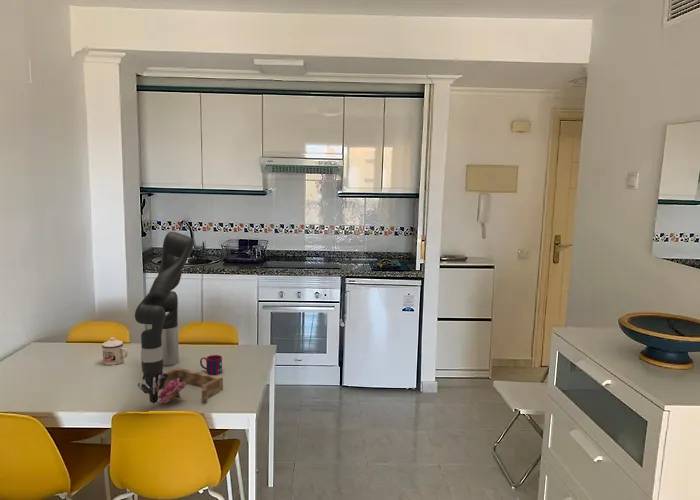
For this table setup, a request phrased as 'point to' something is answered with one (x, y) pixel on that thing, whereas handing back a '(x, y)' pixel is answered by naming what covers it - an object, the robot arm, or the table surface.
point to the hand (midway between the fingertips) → (154, 402)
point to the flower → (171, 391)
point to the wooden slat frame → (197, 381)
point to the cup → (213, 364)
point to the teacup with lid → (113, 352)
